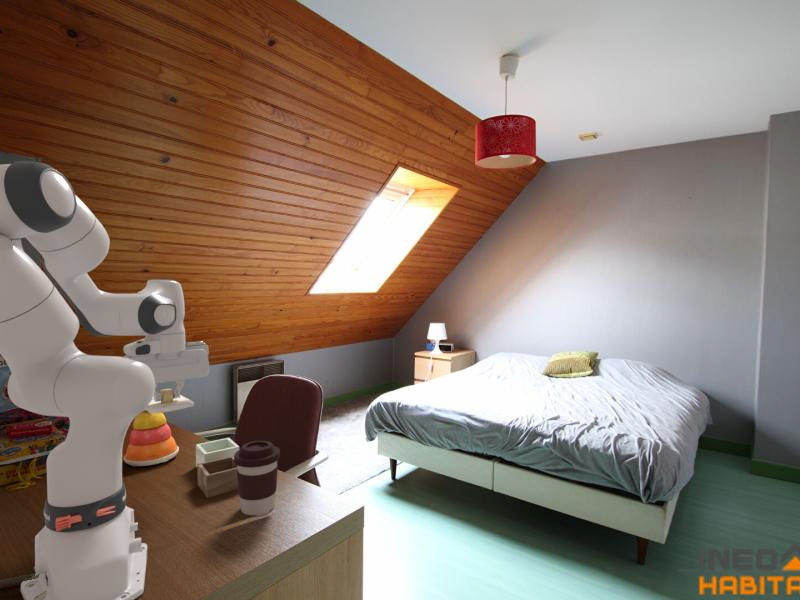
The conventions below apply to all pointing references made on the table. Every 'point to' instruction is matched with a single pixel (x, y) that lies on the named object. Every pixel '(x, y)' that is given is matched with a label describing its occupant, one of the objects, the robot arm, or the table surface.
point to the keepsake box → (217, 476)
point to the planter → (215, 450)
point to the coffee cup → (257, 477)
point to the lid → (168, 403)
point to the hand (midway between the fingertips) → (167, 399)
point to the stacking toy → (150, 440)
